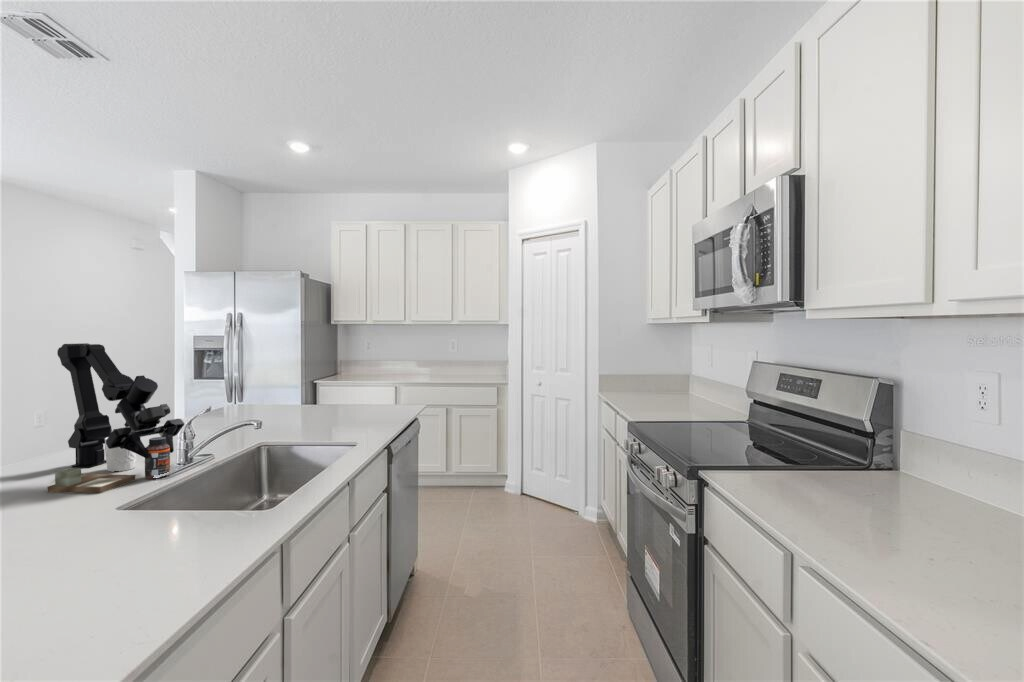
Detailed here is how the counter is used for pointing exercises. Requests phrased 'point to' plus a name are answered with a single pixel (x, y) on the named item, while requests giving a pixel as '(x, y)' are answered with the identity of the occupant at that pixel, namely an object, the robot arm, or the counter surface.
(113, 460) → the white cup
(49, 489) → the board
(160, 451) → the supplement bottle
